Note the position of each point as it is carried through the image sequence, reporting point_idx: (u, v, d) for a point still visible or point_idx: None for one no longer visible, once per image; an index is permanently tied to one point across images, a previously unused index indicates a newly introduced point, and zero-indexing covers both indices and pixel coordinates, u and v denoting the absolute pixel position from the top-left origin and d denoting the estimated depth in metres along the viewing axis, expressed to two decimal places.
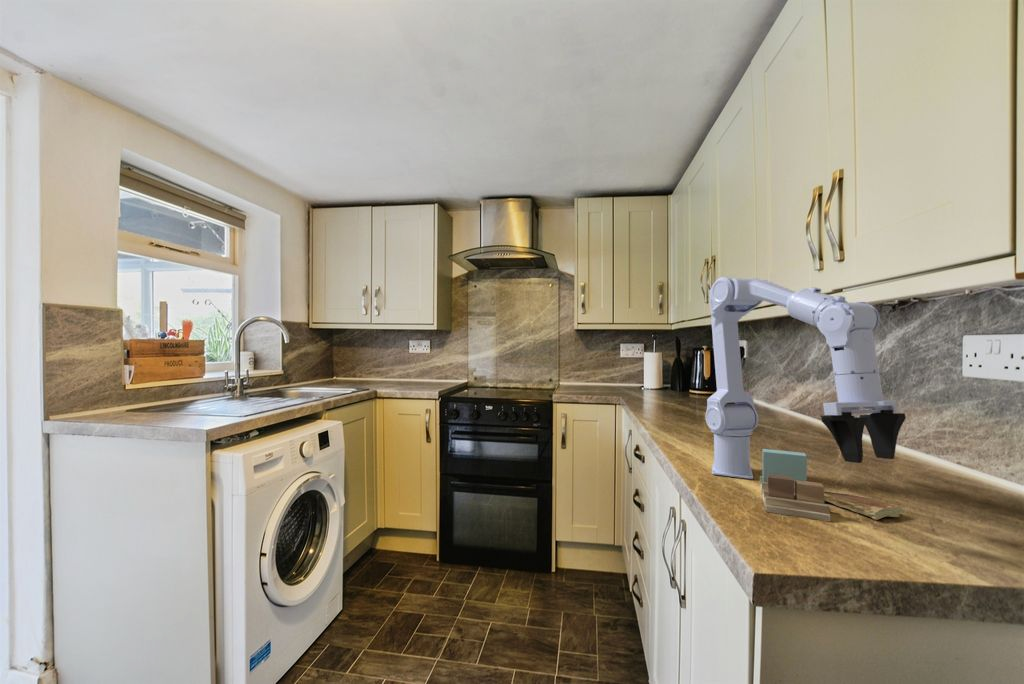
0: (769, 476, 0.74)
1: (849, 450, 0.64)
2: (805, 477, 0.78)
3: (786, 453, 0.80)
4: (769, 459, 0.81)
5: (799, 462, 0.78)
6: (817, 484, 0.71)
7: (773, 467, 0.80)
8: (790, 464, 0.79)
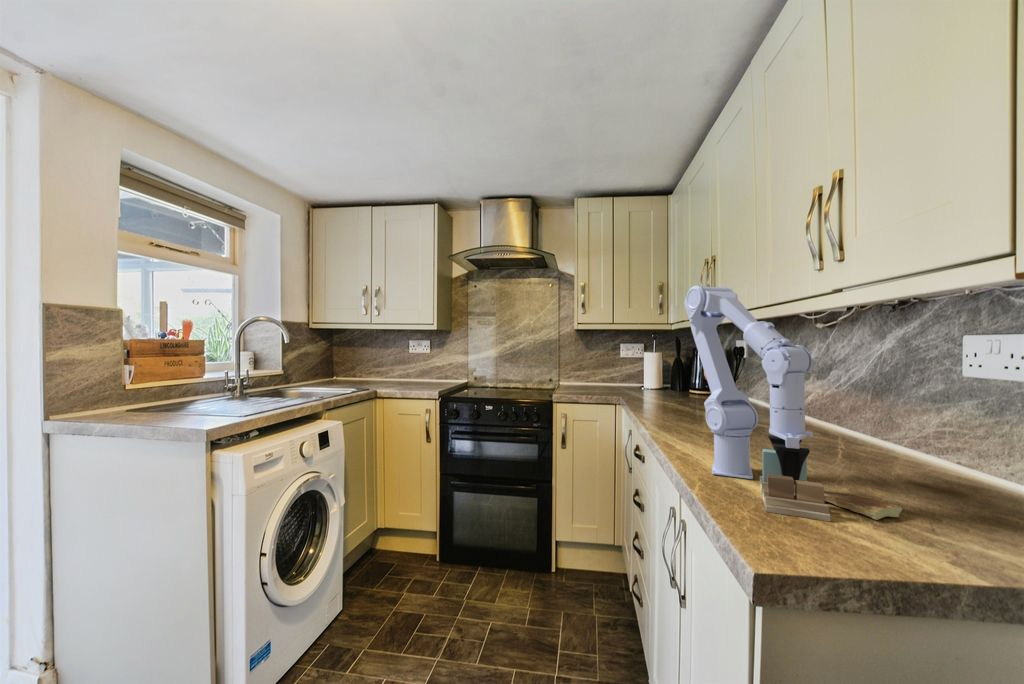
0: (769, 476, 0.74)
1: (791, 474, 0.76)
2: (805, 477, 0.78)
3: None
4: (769, 459, 0.81)
5: None
6: (817, 484, 0.71)
7: (773, 467, 0.80)
8: None
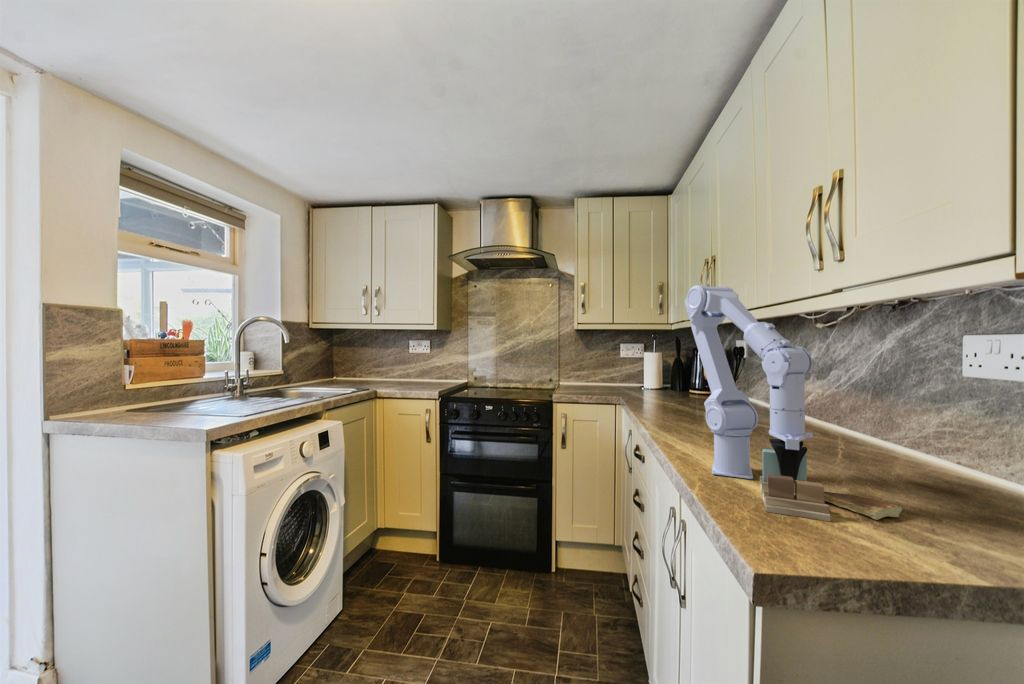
0: (769, 476, 0.74)
1: (789, 472, 0.79)
2: (805, 477, 0.78)
3: None
4: (769, 459, 0.81)
5: None
6: (817, 484, 0.71)
7: (773, 467, 0.80)
8: None
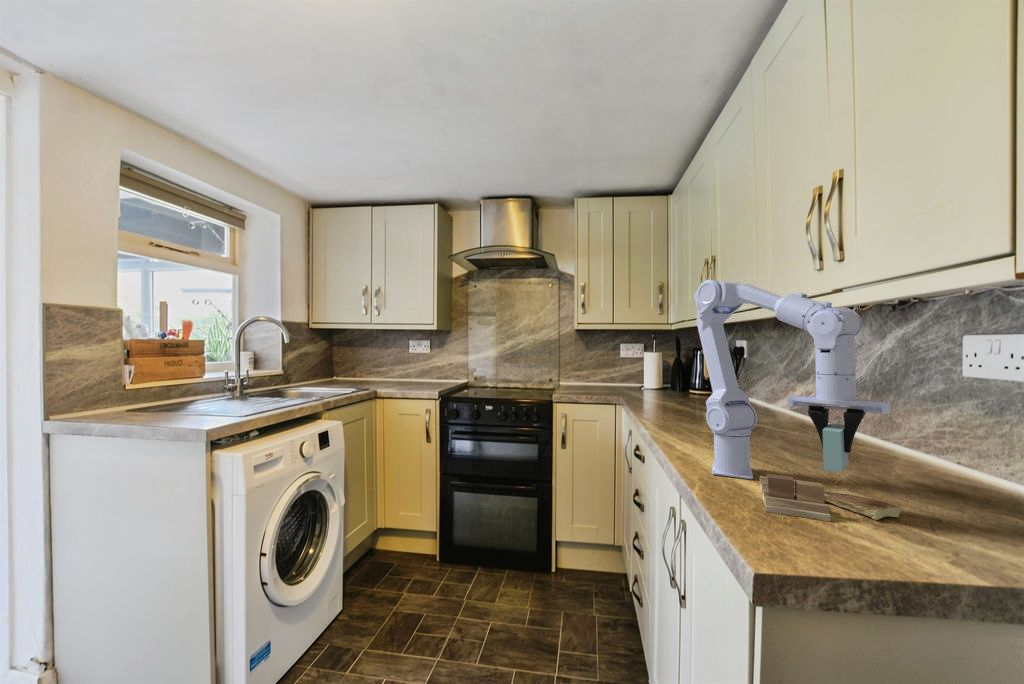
0: (769, 476, 0.74)
1: (851, 442, 0.73)
2: None
3: (839, 427, 0.73)
4: (841, 438, 0.71)
5: None
6: (817, 484, 0.71)
7: (842, 446, 0.71)
8: None
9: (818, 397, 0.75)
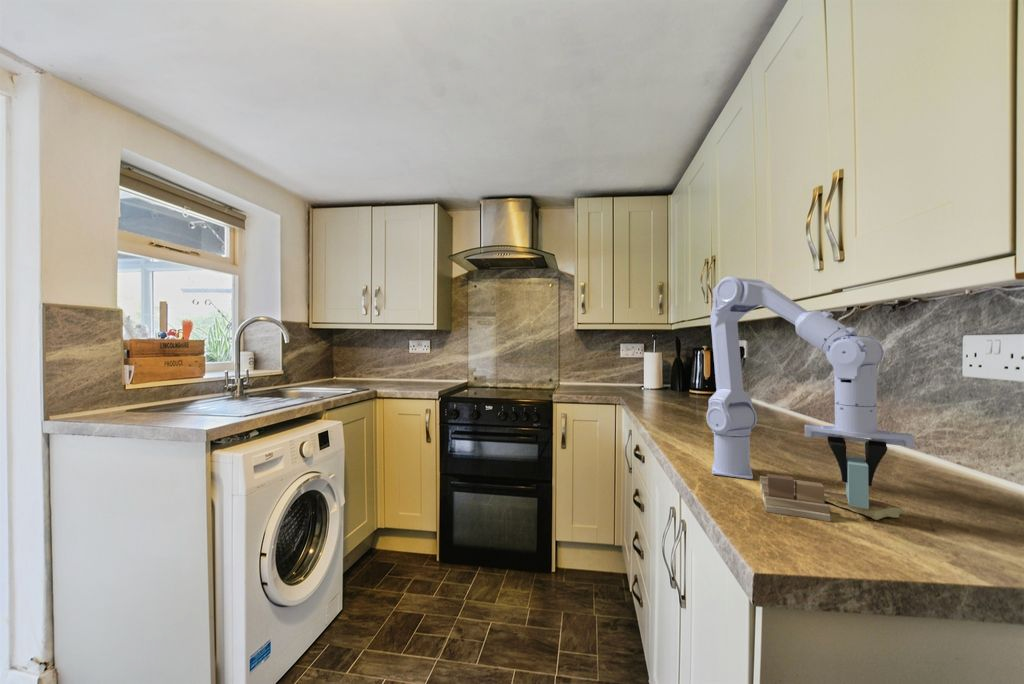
0: (769, 476, 0.74)
1: None
2: None
3: (860, 460, 0.71)
4: None
5: None
6: (817, 484, 0.71)
7: None
8: None
9: (839, 428, 0.72)
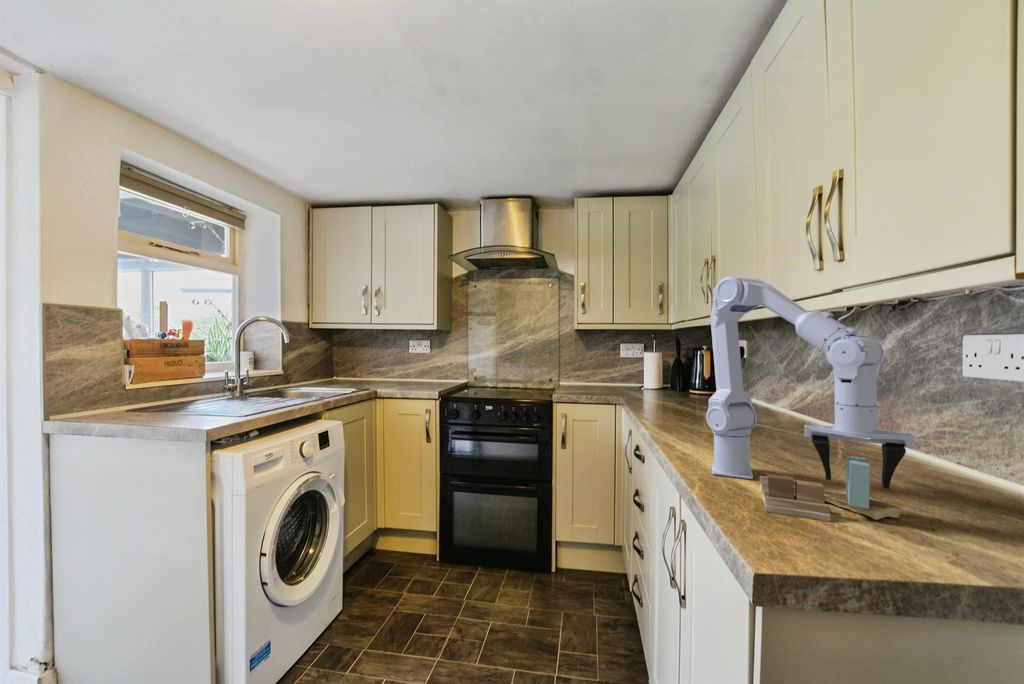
0: (769, 476, 0.74)
1: None
2: None
3: (862, 461, 0.72)
4: None
5: None
6: (817, 484, 0.71)
7: None
8: None
9: (839, 428, 0.72)
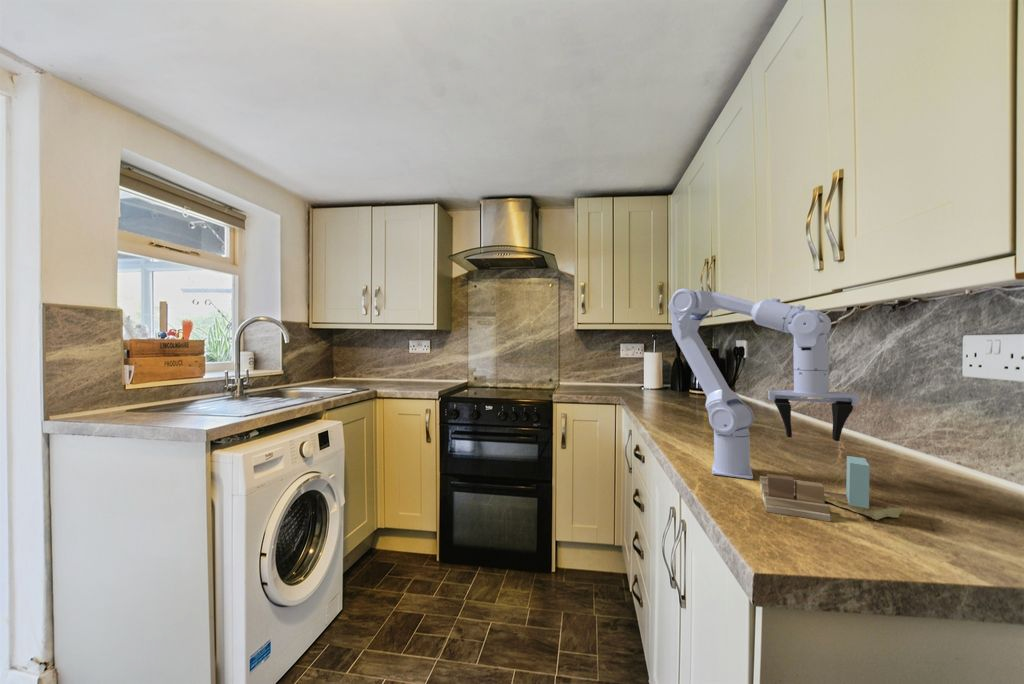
0: (769, 476, 0.74)
1: None
2: None
3: (861, 460, 0.72)
4: None
5: None
6: (817, 484, 0.71)
7: None
8: None
9: (799, 391, 0.82)
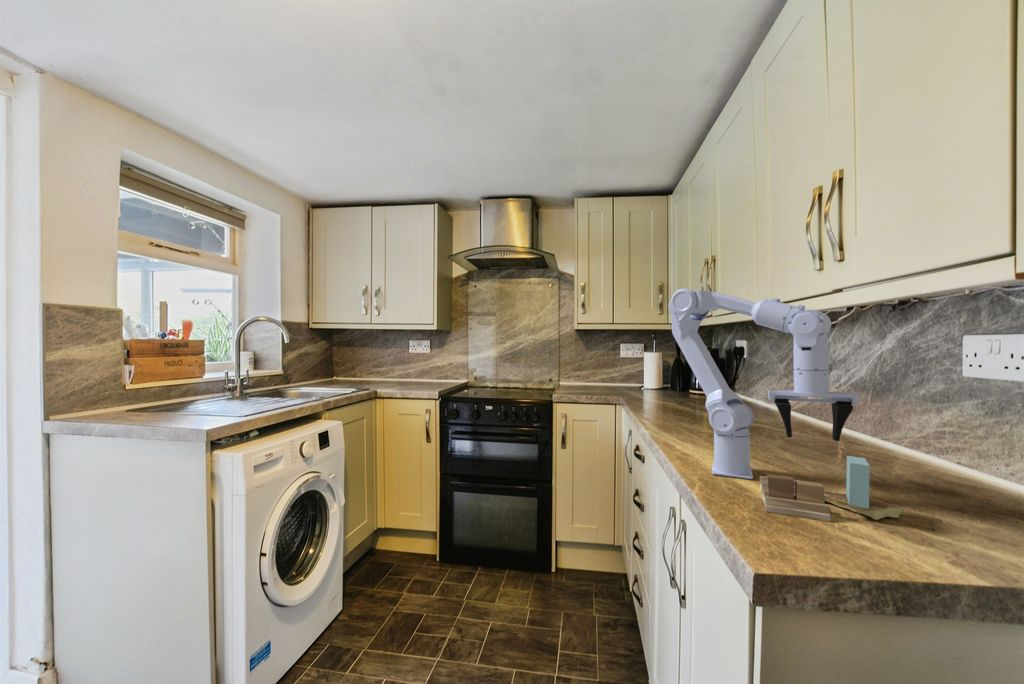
0: (769, 476, 0.74)
1: None
2: None
3: (861, 460, 0.72)
4: None
5: None
6: (817, 484, 0.71)
7: None
8: None
9: (799, 391, 0.82)
